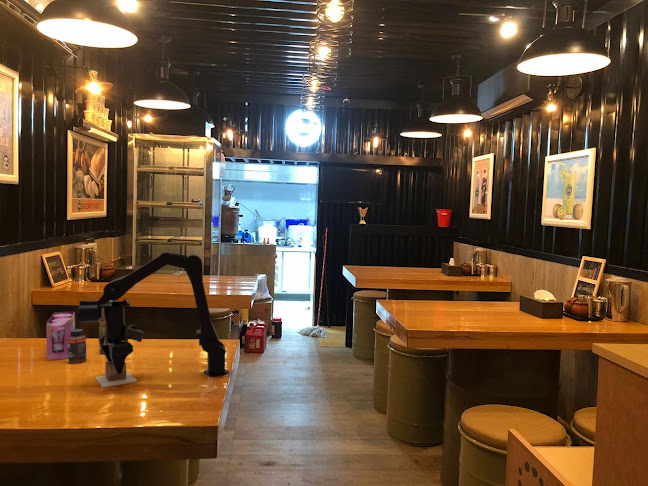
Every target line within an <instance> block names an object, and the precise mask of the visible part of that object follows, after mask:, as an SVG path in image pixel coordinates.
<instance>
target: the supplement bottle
mask: <svg viewBox="0 0 648 486" xmlns="http://www.w3.org/2000/svg"><path fill="white" fill-rule="evenodd" d="M83 331H84V330H83V329H81V328H75V330H71V331H70V334H71V335H70V337H68V359H67V361H68V363H69V364H82V363H84V362H86V361H87V336H86V335H84V332H83Z"/></svg>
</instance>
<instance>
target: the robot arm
mask: <svg viewBox="0 0 648 486" xmlns="http://www.w3.org/2000/svg"><path fill="white" fill-rule="evenodd" d="M167 265H168V266H172V267H176V268H180V269H185V272H186V274H187V277H188V279H189V281H190V284H191V287H192V293H193V295H194V296H193V297H194V301H195V305H196V309H197V314H198V320H199V324H200V329H196V336H197V339H198V346H199V347H201V349H202V350H203V351H204V352H205V353H207V357H206V358H207V369H205V370H203V373H204V374H206V375H207V376H209V377H210V378H211V377H212V378H213V377H218V376H223V375H228V374H230V371H228V370H227V369H226V353H227V350H226V346H225V344H224V343H223V342H222V341H221V340H220V339H219V336H218V334H217V331H216V329H215V325H214V324H213V321H212V318H211V313H210V309H209V306H208V300H207V295H206V290H205V285H204V278H203V276H204V270H203V260H202V257H201V256H199V255H198V254H196V253H191V254H189V255H184V254H181V253H174V252H170V251H163V252H162V253H161V254H159V255H158V256H157V257H155V258H153V259H152V260H150V261H149V262H147V263H145V264H144V265H141V266H140V267H139V268H137V269H136V270H134V271H132V272H131V273H129V274H126V275H123V276H120V277H119V278H115V279H112V280H111V281H110V282H108V283H107V284H106V285H105V286H104V288H103V293H102V295H101V296H100V297H99V298H98V299H95V300H83V299H81V300H80V301H79V306H78V312H77V320H78V323H82V324H83V323H94V322H95V323H99V322H100V318H103V315H104V309H103V308H105V324H104V328H105V334H101V335H100V337H99V336H98V343H100V344H101V345H100V346H101V348H102V350H103V352H104V357H105V358H106V360H107V362H110V361H113V364H114V366H115V369H116V371H117V373H118V374H121V373H122V370H123V366H124V362H125V361H126V359H127V357H128V356H129V355H131V354H132V353H134V345H133V344H132V343H131V342H129V340H133V341H136V342H137V343H142V340H143V337H144V336H145V332H144V331H143V330H141V329H138V326H137V325H134V324H130V325H129V326H128V325H127V324H126V322H125V321H126V320H125V316H126V315H125V311H126V309H125V308H127V307H128V308H129V307H130V306H131V305H132V303H131V302H130V301H129V300H128V299H127V298H124V299H122V300H120V299H121V298H122V297H123V296H124V295H125V294H126V293H127V292H128V291H130V290H131V289H132V288H133V287H135V285H137V284H138V283H140V282H141V281H143V280H145V279H146V278H147V277H149V276H151V275H153V274H154V273H156V272H157V271H159V270H161V269H162V268H164V267H165V266H167ZM110 300H112V301H113V302H112V304H106V303H107V302H109V301H110ZM104 304H105V305H104ZM125 363H126V362H125Z"/></svg>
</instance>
